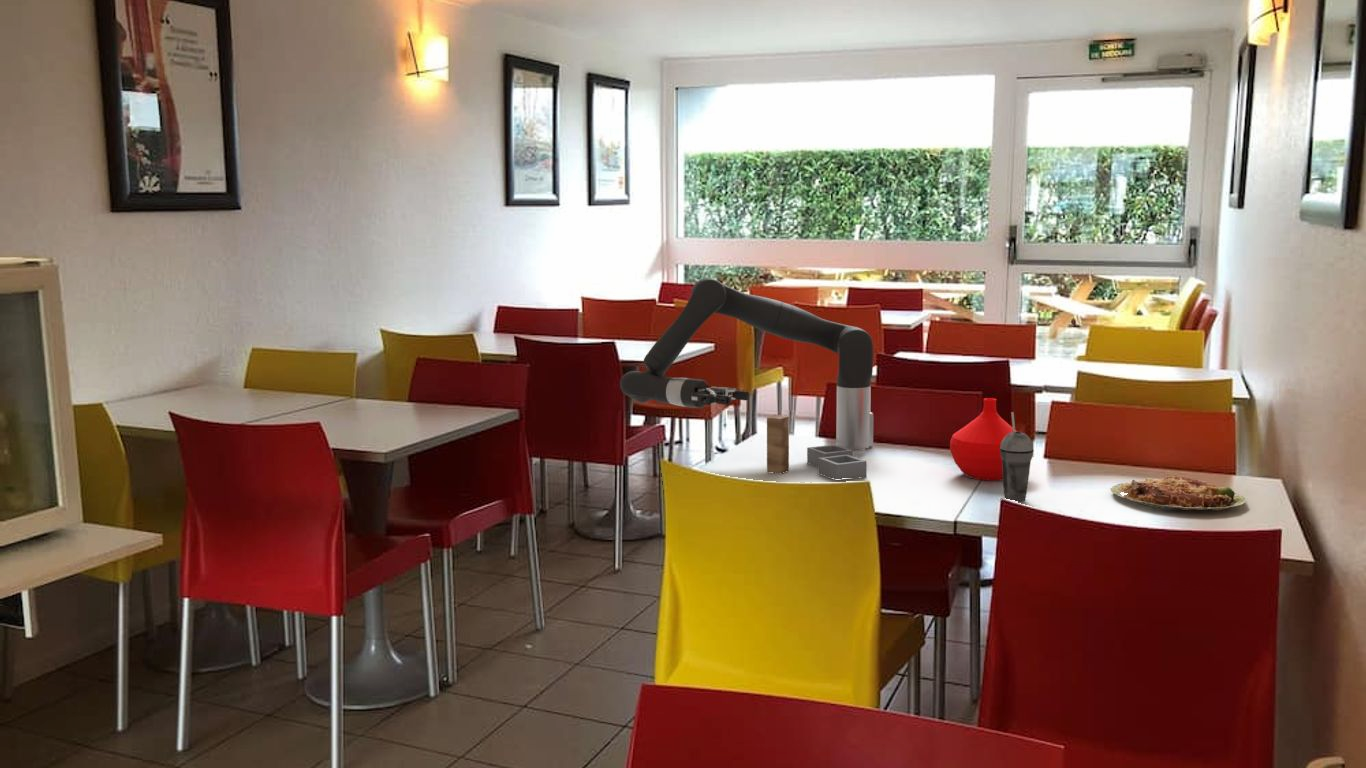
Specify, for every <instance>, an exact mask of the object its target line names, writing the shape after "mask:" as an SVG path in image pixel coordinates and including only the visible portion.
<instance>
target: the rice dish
mask: <svg viewBox="0 0 1366 768" xmlns="http://www.w3.org/2000/svg"><path fill="white" fill-rule="evenodd" d="M1110 491H1111V493H1112V494H1115V495H1116V496H1118V497H1119V496H1120V497H1121V498H1123V499H1126V500H1129V501H1132V502H1135V503H1137V504H1141V505H1145V506H1150V507H1155V508H1158V509H1161V508H1164V509H1169V508H1170V509H1171V508H1177V509H1178V508H1179V509H1180V510H1184V511H1187V510H1188V511H1189V510H1195V511H1200V510H1204V511H1206V510H1208V511H1211V512H1212V511H1214V512H1215V511H1223V510H1225V509H1230V508H1232V507H1238V506H1241V505H1243V504H1245V503H1247V500H1246V498H1245V497H1243V495H1240V494H1238V493H1235V491H1234V490H1233V488H1231V487H1229V486H1222V487H1218V486H1217V485H1214V484H1208V483H1207V482H1206V481H1205V480H1204V481H1201V480H1198V479H1191V478H1189V477H1184V476H1182V477H1181V476H1179V477H1178V476H1177V475H1170V476H1165V477H1164V478H1163V477H1162V478H1151V477H1145V480H1138V481H1137V480H1135V479H1133V480H1132V481H1131V482H1125V483H1119V484H1116V485H1113V486H1112V487H1111V488H1110ZM1121 492H1124V493H1128V494H1127V495H1124V496H1122V495H1121V494H1120V493H1121ZM1231 504H1232V505H1231Z"/></svg>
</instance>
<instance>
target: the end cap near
mask: <svg viewBox="0 0 1366 768" xmlns="http://www.w3.org/2000/svg"><path fill="white" fill-rule="evenodd" d="M867 463H868V462H867V460H864V459H862V458H859V457H856V456H854V455H853V456H850V455H840V456H831V457H823V458H819V467H818V471H817V472H818V473H819V475H820V474H822V475H821V476H823V475H825V476H824V477H826V476H827V477H826V478H828V477H830V478H829V479H831V478H834V479H842V478H856V479H860V478H859V477H863V478H867V473H868V472H867V470H868V468H867V467H868V466H867ZM835 481H836V482H838V481H841V480H835Z"/></svg>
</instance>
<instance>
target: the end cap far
mask: <svg viewBox="0 0 1366 768" xmlns="http://www.w3.org/2000/svg"><path fill="white" fill-rule="evenodd" d="M806 453H807V454H806V456H807V457H806V462H807V464H809V463H810V465H813V466H815V467H817V468H819V458H823V457H831V456H840V455H850V456H853V457H854V450H850V449H847V448H844V447H841V446H838V445H836V444H829V445H828V444H827V445H826V444H825V445H817V446H810V447H809V446H808V447H806Z"/></svg>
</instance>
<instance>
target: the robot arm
mask: <svg viewBox="0 0 1366 768" xmlns="http://www.w3.org/2000/svg"><path fill="white" fill-rule="evenodd" d="M690 291H691V292H690V297H689V299H688V301H687V303H686V304H685V307H684V308H683V310H682V312H681V313H680V314H679V315H678V317H677V318H676V319H675V320H674V321H673V322H672V324H671V325H670V326H669V327H668V328H667V329H666V330H665V331H664V332H663V334H662V335H660V337H659V338H658V340H657V341H655V343H654V344H653V346H652V347H651V349H649V351H648V352H647V354H646V355H645V356H644V358H643V363H644V365H645V367H646V368H645V369H646V370H645V371H640V370H630V371H628V372H626V373H625V374H623V376H622V377H621V378H620V381H619V387H620V390H621V391H622V393H623V394H624V395H626V396H627V397H629V398H630V399H632V400H634V401H635V402H638V403H641V404H644V403H647V402H650V401H651V400H653V401H655V402H657V403H662V404H669V405H675V406H678V407H684V408H685V407H687V408H694V409H702V408H704V407H705V406H706V405H707V406H710V405H717V404H718V405H727V406H728V405H731V404H732V400H739V401H749V399H750V392H749V391H745V390H744V391H743V390H740V389H739V388H737V387H726V386H725V387H723V386H718V387H717V386H709V385H708V383H707V381H706V380H704V379H700V378H699V379H697V378H689V377H670V376H665V374H666V372H667V371H668V370H669V368H670V367H671V366H672V364H673V363H674V362H675V361H676V359H677V358H678V357H679V355H680V354H681V352H682V351H683V350H684V348H685V347H686V345H687V344H688V343H689V341H690V340H691V338H692V337H693V336H694V335H695V334H696V333H697V331H698V330H699V329H700V328H701V326H702V325H703V324H704V323H705V322H706V321H707V320H709V318H710V317H711V316H712V315H714V313H715V314H719V315H722V316H727V317H731V318H734V319H736V320H739V321H741V322H744V323H746V324H747V325H750V326H751V327H753V328H756V329H758V330H760V331H762V332H764V333H767V334H770V335H773V336H777V337H779V338H782V339H785V340H790V341H794V342H800V343H805V344H806V343H807V344H812V345H815V346H816V345H817V346H819V347H822V348H824V349H826V350H829V351H831V352H833V353H835V354H838V355H839V356H838V373H837V375H836V423H835V425H836V433H835V435H836V436H835V442H836V443H835V445H838V446H841V447H844V448H847V449H850V450H853V451H860V449H862V450H866V449H865V448H867V449H869V448H868V447H869V446H872V445H873V446H874V413H873V412H871V399H872V398H871V389H872V388H871V386H872V385H871V384H872V383H871V382H872V376H873V369H874V365H873V364H874V342H873V338H872V337H871V335H870V334H869V333H868V332H867V331H866V330H864V329H862V328H860V327H859V326H854V325H853V326H852V325H847V324H844V323H843V324H842V323H838V322H834V321H830V320H827V319H825V318H824V319H823V318H821V317H819V316H817V315H815V314H813V313H811V312H809V311H807V310H804V309H802V308H800V307H797V306H796V305H792V304H789V303H786V302H783V301H780V300H777V299H772V298H769V297H765V296H759V295H754V294H749V293H745V292H742V291H739V290H736V289H735V288H732V287H731V286H729V285H726V284H724V283H721V282H720V281H719V280H717V279H715V278H713V277H705V278H701V279H699V280H698V281H696V282H695V283H694V285H693V286H692V289H691V290H690Z"/></svg>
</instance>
